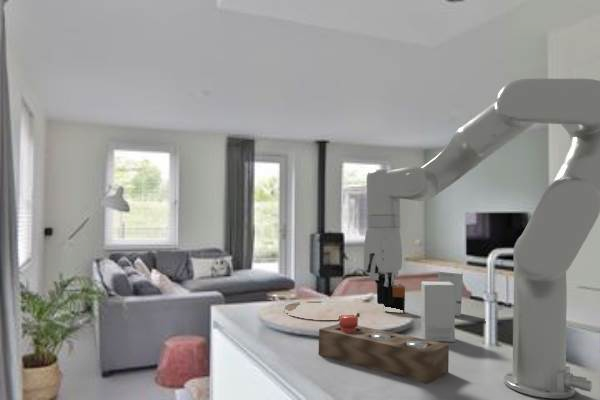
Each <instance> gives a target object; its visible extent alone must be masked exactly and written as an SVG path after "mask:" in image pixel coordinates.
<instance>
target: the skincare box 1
mask: <svg viewBox="0 0 600 400" xmlns="http://www.w3.org/2000/svg"><path fill="white" fill-rule="evenodd" d="M420 282H421V286H420V288H421V310H420V311H421V314H420V315H421V321H420V323H421V337H422V339H425V340H430V341H435V342H442V341H443V342H442V343H445V342H446V343H447V342H448V343H449V342H450V343H452V342H453V343H454V342H456V339H455V338H456V335H455V331H456V330H455V329H456V327H455V325H456V323H455V322H456V319H455V318H456V317H455V285H454V284H452V283H451V282H438V281H427V280H425V281H422V280H421V281H420Z"/></svg>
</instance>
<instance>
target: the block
mask: <svg viewBox="0 0 600 400" xmlns="http://www.w3.org/2000/svg"><path fill="white" fill-rule="evenodd" d="M373 333H384V334H388V335H390V336H391V338H390V339H387V340H380V339H376V338H371V334H373ZM407 341H422V342H425V343H427V347H425V348H423V349H421V348H417V347H412V346H407V345H406V344H407ZM449 349H450V344H449V343H445V342H441V341H430V340H425V339H424V338H420V337H415V336H410V335H407V334H399V333H395V332H390V331H386V330H381V329H377V328H373V327H372V328H370V327H366V326H361V325H358V326H357V327H356V332H353V333H349V332H344V331H341V326H340V325H339V323H337V324H334V325H329V326H326V327H321V328H319V329H318V355H320V356H324V357H327V358H330V359H334V360H336V361H337V360H339V361H342V362H345V363H348V364H353V365H357V366H360V367H364V368H367V369H371V370H375V371H379V372H382V373H386V374H389V375H393V376H398V377H401V378H405V379H409V380H410V381H411V380H412V381H414V382H415V381H416V382H420V383H424V384H427V385H428V384H431V383H432V382H434V381H436V380H438V379H439V378H441V377H442V376H445V375H446V374H448V373H449V357H450V355H449V354H450V353H449Z"/></svg>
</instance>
